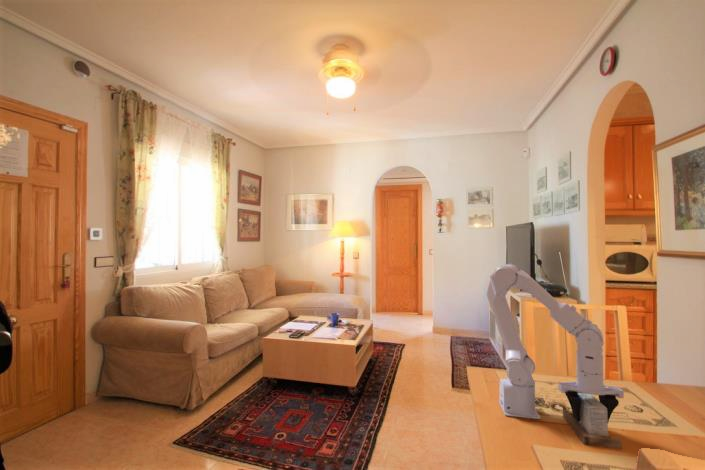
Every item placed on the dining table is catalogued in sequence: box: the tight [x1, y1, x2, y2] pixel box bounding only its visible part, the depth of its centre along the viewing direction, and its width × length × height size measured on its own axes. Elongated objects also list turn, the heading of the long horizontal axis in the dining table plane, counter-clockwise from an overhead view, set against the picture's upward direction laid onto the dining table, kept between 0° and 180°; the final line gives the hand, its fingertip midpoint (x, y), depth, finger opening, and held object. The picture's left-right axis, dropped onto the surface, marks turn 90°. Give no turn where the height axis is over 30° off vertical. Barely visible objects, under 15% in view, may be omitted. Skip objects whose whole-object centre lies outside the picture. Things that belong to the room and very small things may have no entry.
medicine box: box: [577, 393, 609, 437], centre depth 84 cm, size 8×4×9 cm, turn 168°
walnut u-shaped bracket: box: [562, 409, 623, 450], centre depth 84 cm, size 8×12×2 cm, turn 167°
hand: (590, 420), depth 84 cm, fingers open, 6 cm apart
